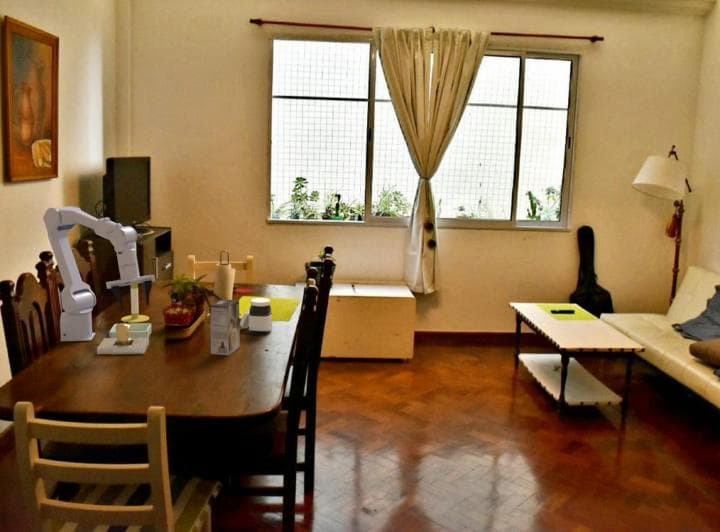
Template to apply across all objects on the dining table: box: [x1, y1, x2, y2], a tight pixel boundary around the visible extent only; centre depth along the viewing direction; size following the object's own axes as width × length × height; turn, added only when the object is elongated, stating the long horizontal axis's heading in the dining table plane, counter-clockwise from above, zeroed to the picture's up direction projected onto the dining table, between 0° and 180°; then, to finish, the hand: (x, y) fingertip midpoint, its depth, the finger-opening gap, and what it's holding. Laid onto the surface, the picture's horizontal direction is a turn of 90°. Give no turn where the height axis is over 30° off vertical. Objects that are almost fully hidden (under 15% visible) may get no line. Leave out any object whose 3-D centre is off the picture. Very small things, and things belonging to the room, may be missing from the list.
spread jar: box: [239, 297, 273, 336], centre depth 238 cm, size 12×11×12 cm
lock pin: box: [116, 322, 131, 346], centre depth 214 cm, size 4×4×8 cm
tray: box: [108, 323, 153, 339], centre depth 228 cm, size 12×10×3 cm
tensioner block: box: [96, 337, 150, 356], centre depth 214 cm, size 14×11×2 cm
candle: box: [120, 241, 150, 324], centre depth 246 cm, size 10×10×32 cm
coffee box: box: [209, 298, 241, 356], centre depth 214 cm, size 9×6×16 cm
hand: (135, 307), depth 213 cm, fingers open, 7 cm apart
